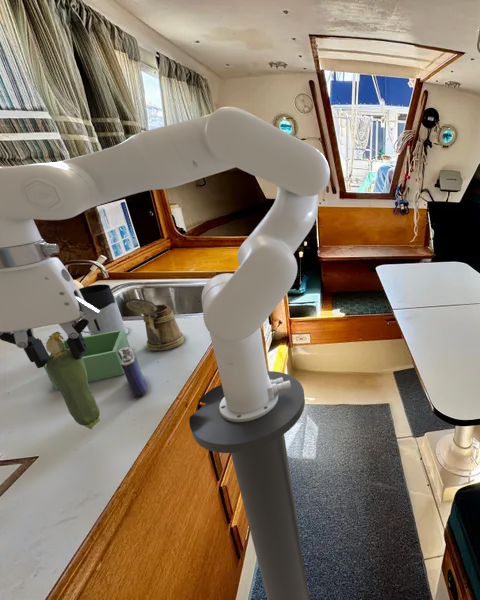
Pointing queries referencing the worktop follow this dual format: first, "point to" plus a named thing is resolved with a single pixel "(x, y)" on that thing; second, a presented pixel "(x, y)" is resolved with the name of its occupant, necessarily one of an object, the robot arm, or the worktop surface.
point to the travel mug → (103, 309)
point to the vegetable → (72, 382)
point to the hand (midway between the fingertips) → (62, 358)
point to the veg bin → (101, 355)
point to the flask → (133, 372)
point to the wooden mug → (158, 324)
